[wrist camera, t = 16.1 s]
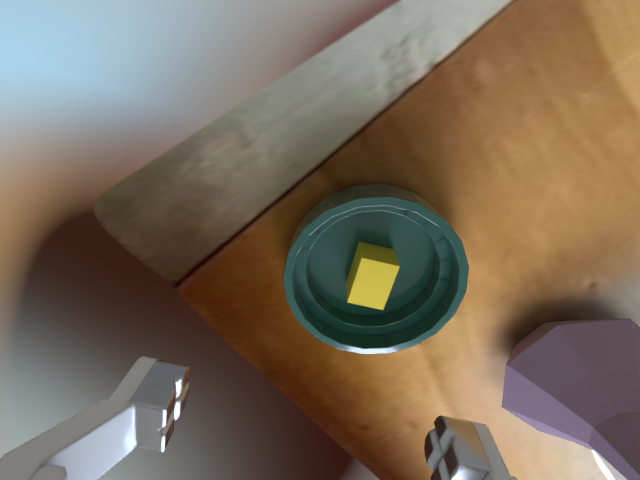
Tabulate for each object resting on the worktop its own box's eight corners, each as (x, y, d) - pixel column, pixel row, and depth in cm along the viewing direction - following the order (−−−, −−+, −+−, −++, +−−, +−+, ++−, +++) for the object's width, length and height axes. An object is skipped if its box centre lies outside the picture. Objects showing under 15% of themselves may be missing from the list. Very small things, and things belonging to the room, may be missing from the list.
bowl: (308, 164, 31) (304, 176, 27) (479, 205, 32) (500, 222, 28) (277, 308, 38) (270, 335, 34) (418, 338, 39) (428, 368, 35)
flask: (460, 329, 38) (576, 554, 20) (616, 265, 34) (944, 474, 16) (507, 416, 43) (632, 654, 25) (646, 371, 39) (913, 615, 21)
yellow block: (358, 241, 33) (361, 257, 30) (393, 249, 33) (400, 266, 30) (345, 282, 35) (347, 302, 32) (378, 290, 35) (383, 310, 32)
